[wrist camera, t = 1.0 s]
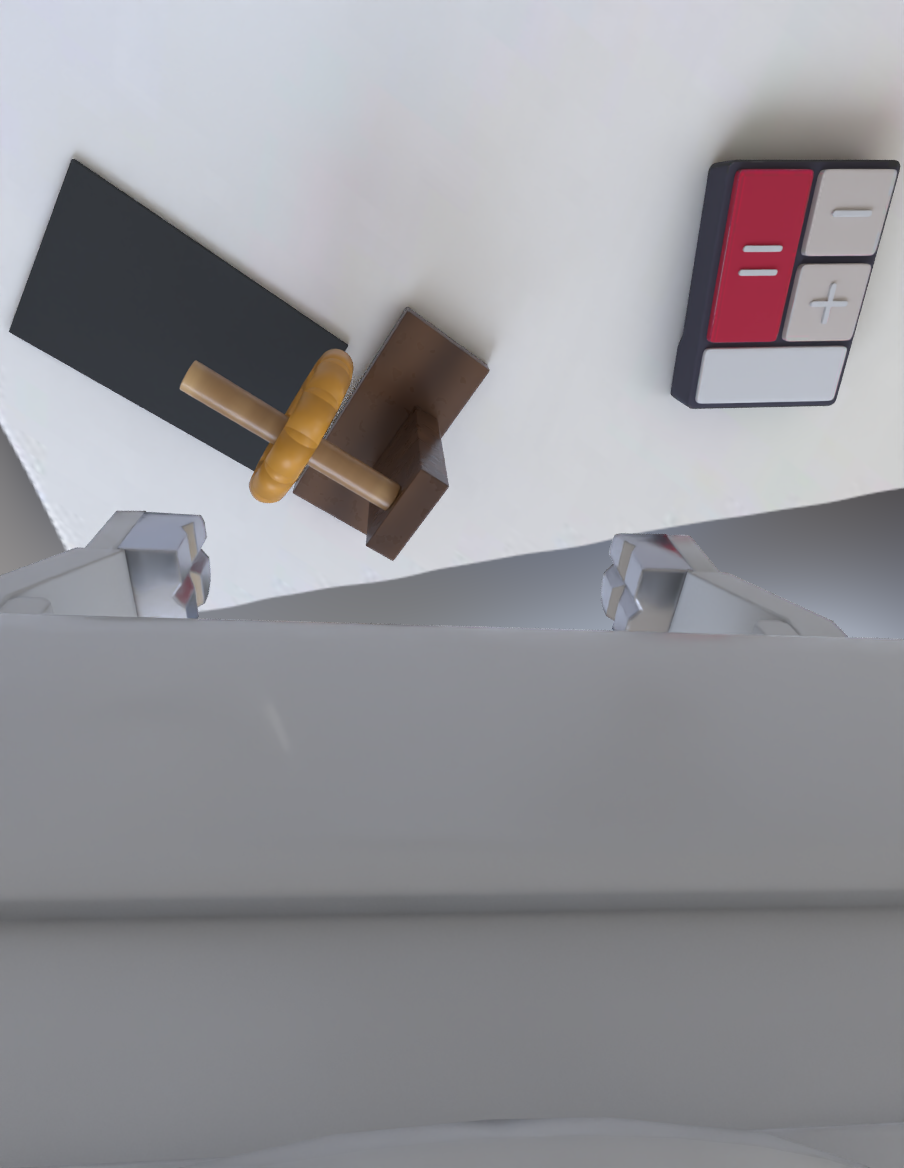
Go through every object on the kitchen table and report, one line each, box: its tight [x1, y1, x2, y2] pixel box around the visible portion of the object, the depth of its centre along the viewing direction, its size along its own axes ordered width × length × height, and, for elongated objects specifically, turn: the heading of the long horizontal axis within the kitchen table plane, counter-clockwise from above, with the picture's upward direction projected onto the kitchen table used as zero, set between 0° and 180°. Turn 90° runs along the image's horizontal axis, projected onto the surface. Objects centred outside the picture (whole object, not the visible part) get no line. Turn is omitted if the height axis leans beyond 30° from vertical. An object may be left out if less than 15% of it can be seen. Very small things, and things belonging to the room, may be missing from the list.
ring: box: [249, 349, 353, 503], centre depth 40 cm, size 10×2×10 cm, turn 145°
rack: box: [180, 307, 489, 561], centre depth 43 cm, size 16×16×14 cm
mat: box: [9, 159, 348, 471], centre depth 46 cm, size 19×12×1 cm, turn 54°
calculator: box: [671, 160, 900, 409], centre depth 45 cm, size 11×4×15 cm
